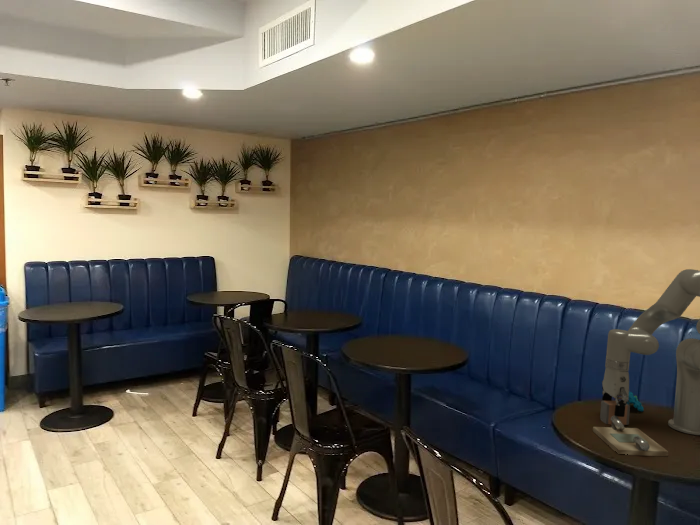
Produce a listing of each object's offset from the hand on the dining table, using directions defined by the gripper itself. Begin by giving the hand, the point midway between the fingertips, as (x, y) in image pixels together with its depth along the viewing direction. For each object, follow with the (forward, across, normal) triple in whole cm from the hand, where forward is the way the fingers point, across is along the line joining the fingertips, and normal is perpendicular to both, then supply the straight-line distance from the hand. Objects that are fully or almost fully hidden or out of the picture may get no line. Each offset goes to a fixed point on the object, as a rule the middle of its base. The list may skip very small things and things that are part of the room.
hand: (612, 411), depth 187 cm
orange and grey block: (+4, 0, -1) cm, 4 cm away
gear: (+4, +14, -15) cm, 21 cm away
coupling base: (+4, -18, +3) cm, 19 cm away
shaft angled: (+2, -10, +3) cm, 11 cm away
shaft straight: (+2, -26, +3) cm, 26 cm away
